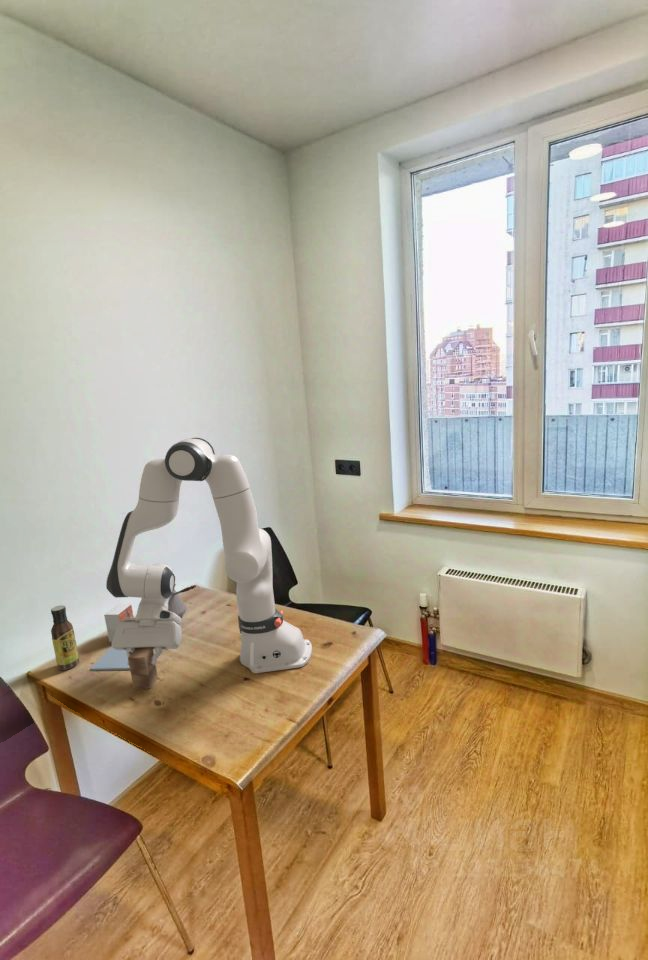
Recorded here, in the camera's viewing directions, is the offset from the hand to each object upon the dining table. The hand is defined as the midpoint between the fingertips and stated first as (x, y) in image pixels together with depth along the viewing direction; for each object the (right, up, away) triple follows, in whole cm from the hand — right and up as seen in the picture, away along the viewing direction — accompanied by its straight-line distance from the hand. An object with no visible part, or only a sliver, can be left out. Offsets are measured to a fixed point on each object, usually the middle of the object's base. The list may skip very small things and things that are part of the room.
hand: (141, 665), depth 136 cm
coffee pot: (0, +1, +39) cm, 40 cm away
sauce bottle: (-29, -6, +15) cm, 33 cm away
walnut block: (+1, -6, +2) cm, 6 cm away
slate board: (-13, -4, +17) cm, 22 cm away
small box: (-18, -2, +31) cm, 36 cm away
